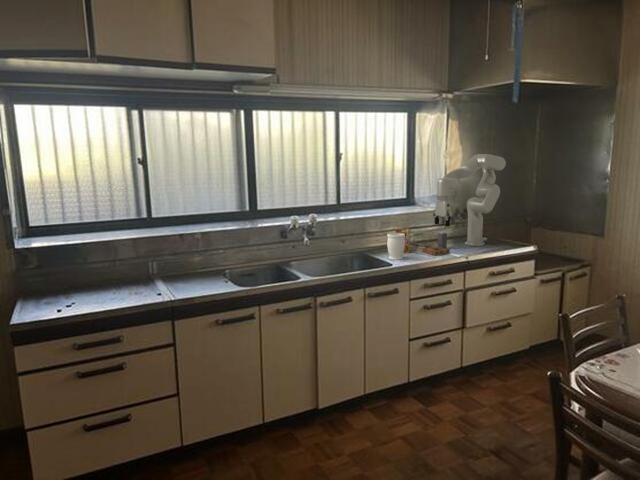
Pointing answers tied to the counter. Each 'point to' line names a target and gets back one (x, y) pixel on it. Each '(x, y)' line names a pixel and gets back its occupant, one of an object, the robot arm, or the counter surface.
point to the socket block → (432, 250)
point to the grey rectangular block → (442, 240)
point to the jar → (395, 245)
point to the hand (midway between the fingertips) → (442, 225)
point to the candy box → (405, 238)
